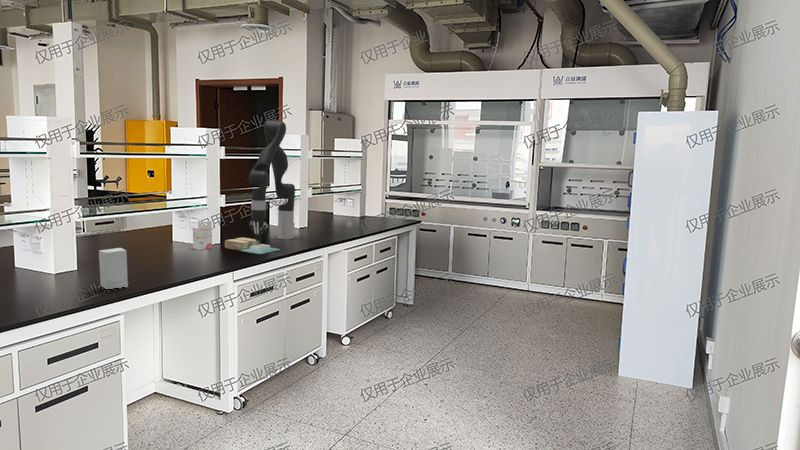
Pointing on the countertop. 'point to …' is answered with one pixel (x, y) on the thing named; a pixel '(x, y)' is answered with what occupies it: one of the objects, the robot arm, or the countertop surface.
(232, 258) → the countertop surface
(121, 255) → the skincare box
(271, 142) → the robot arm
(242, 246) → the deck
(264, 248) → the slide case
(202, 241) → the ink cartridge box
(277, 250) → the mat
